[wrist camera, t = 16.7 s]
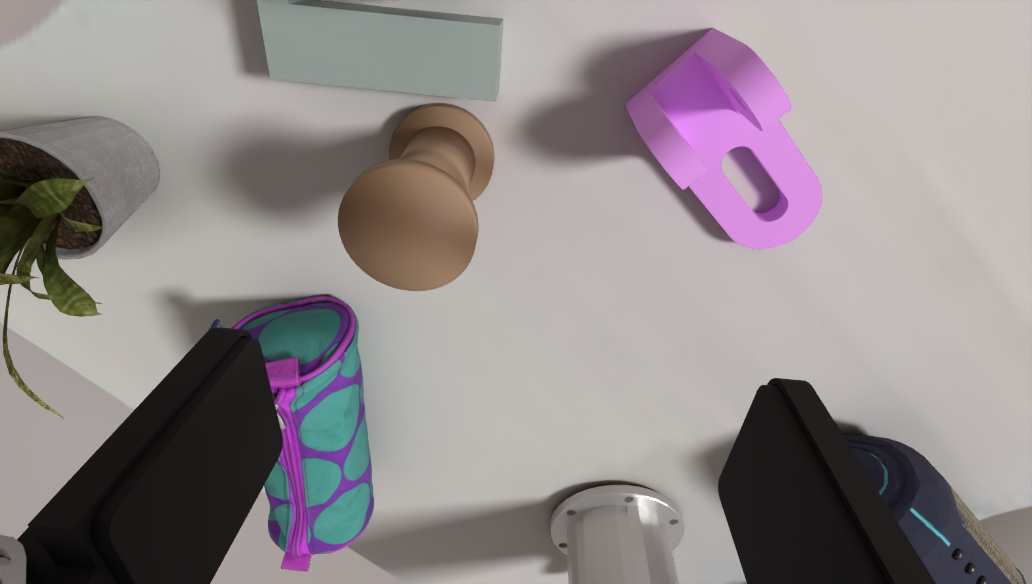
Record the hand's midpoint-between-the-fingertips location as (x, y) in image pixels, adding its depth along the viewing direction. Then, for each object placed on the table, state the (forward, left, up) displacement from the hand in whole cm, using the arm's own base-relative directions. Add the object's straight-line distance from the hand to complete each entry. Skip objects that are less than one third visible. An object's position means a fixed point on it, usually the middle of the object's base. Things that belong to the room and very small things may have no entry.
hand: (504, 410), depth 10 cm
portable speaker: (-31, -35, -23) cm, 52 cm away
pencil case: (-24, +14, -23) cm, 36 cm away
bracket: (-2, -12, -23) cm, 26 cm away
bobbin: (-4, +5, -23) cm, 24 cm away
